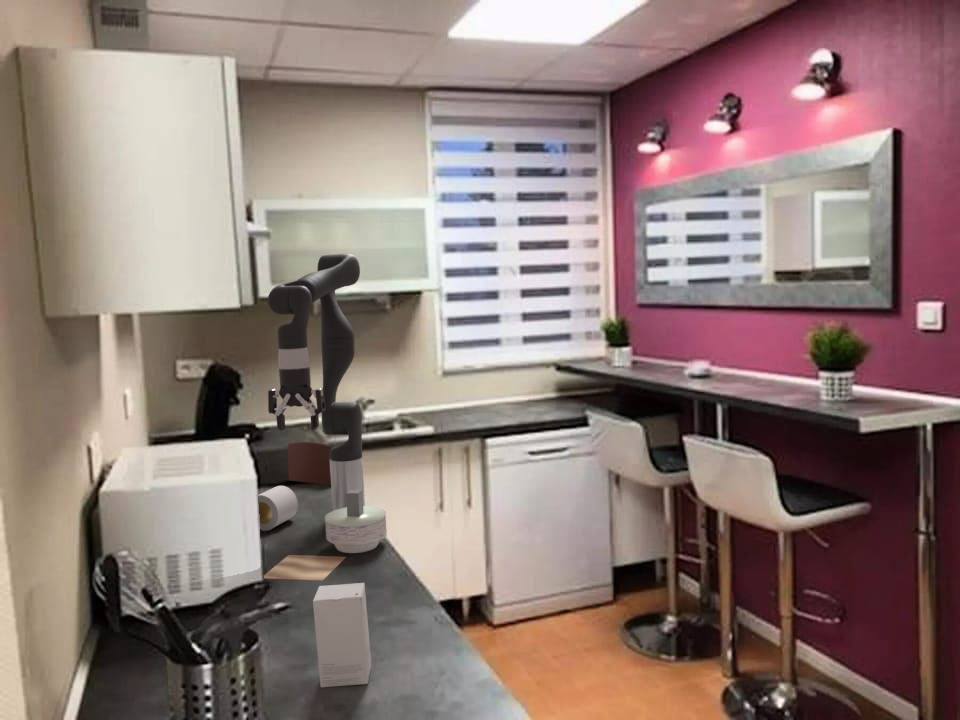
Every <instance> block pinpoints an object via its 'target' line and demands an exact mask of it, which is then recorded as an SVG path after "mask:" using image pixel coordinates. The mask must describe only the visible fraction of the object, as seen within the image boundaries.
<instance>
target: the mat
mask: <svg viewBox="0 0 960 720" xmlns="http://www.w3.org/2000/svg"><path fill="white" fill-rule="evenodd" d="M346 558H347V557H346V556H335V555H334V556H332V555H331V556H329V555H327V556H326V555H301V554H300V555H299V554H288V555H287V556H286V557H284V558H283V559H282V560H280V562H278V563H277V564H276V565H274V566H273V568H271V569H269V570H268V571H267V572H266V573H265V574H263V576H264V578H263V579H271V580H290V581H291V580H292V581H293V580H296V581H297V580H298V581H319V582H320V581H321V582H322V581H324V580H325V579H326V578H327V577H328V576H329V575H330V574H331V573H332V572H333V571H334V570H335V569H336V568H337V567H338V566H339V565H340V564H341V563H342V562H343V561H344V560H345V559H346Z"/></svg>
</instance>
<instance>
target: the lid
mask: <svg viewBox="0 0 960 720" xmlns="http://www.w3.org/2000/svg"><path fill="white" fill-rule="evenodd" d="M346 501H347V507H345V508H341V509H337V510H334V511H333V510H332V511H330V512H327V514H325V516H324V521H325V522H326V523H327V524H329V525H332V526H336V527H360V526H366V525H371V524H374V523H377V522H380V521H382V520H383V519H384V518H385V517H386V516H387V513H386V512H387V511H386V510H385V509H384V508H382V507H379V506H372V505H365V506H363V492H362V490H349V491H348V492H347V493H346ZM386 518H387V517H386ZM325 522H324V523H325ZM326 523H325V524H326Z"/></svg>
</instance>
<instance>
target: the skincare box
mask: <svg viewBox="0 0 960 720" xmlns="http://www.w3.org/2000/svg"><path fill="white" fill-rule="evenodd" d="M365 585H366V584H365V582H360V583H359V582H357V583H345V584H344V583H342V584H331V585H329V584H328V585H319V586H318V588H317V591H316V593H315V596H314V597H313V600H312V607H313V618H314V627H315V628H314V629H315V630H314V631H315V639H316V640H315V641H316V651H317V660H318V661H317V662H318V663H317V664H318V672H319V674H318V675H319V684H320V688H331V687H344V686H345V687H346V686H347V687H348V686H360V685H368V683H369V679H370V677H371V676H370V675H371V674H370V673H371V670H372V656H371V644H370V633H369V619H368V609H367V598H366V597H367V596H366V587H365Z"/></svg>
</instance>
